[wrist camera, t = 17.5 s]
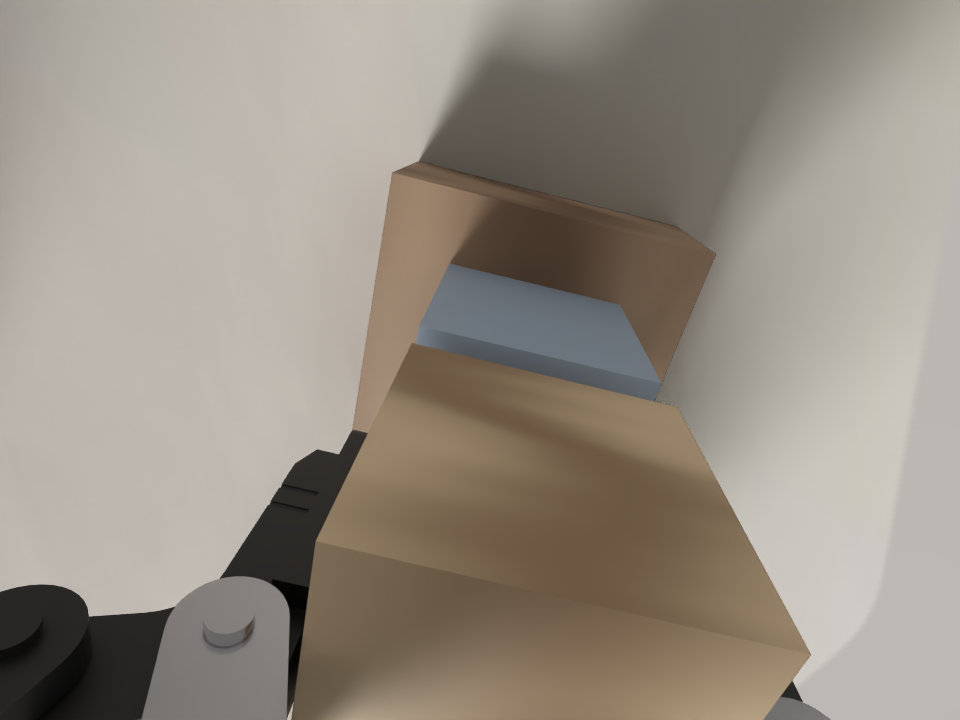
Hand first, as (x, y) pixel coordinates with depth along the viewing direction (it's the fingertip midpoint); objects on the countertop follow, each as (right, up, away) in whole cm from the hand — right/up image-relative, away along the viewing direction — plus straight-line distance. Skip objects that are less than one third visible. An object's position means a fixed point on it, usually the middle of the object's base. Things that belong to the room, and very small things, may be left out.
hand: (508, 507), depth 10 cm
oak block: (0, 0, +1) cm, 1 cm away
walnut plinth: (+1, +4, +10) cm, 11 cm away
